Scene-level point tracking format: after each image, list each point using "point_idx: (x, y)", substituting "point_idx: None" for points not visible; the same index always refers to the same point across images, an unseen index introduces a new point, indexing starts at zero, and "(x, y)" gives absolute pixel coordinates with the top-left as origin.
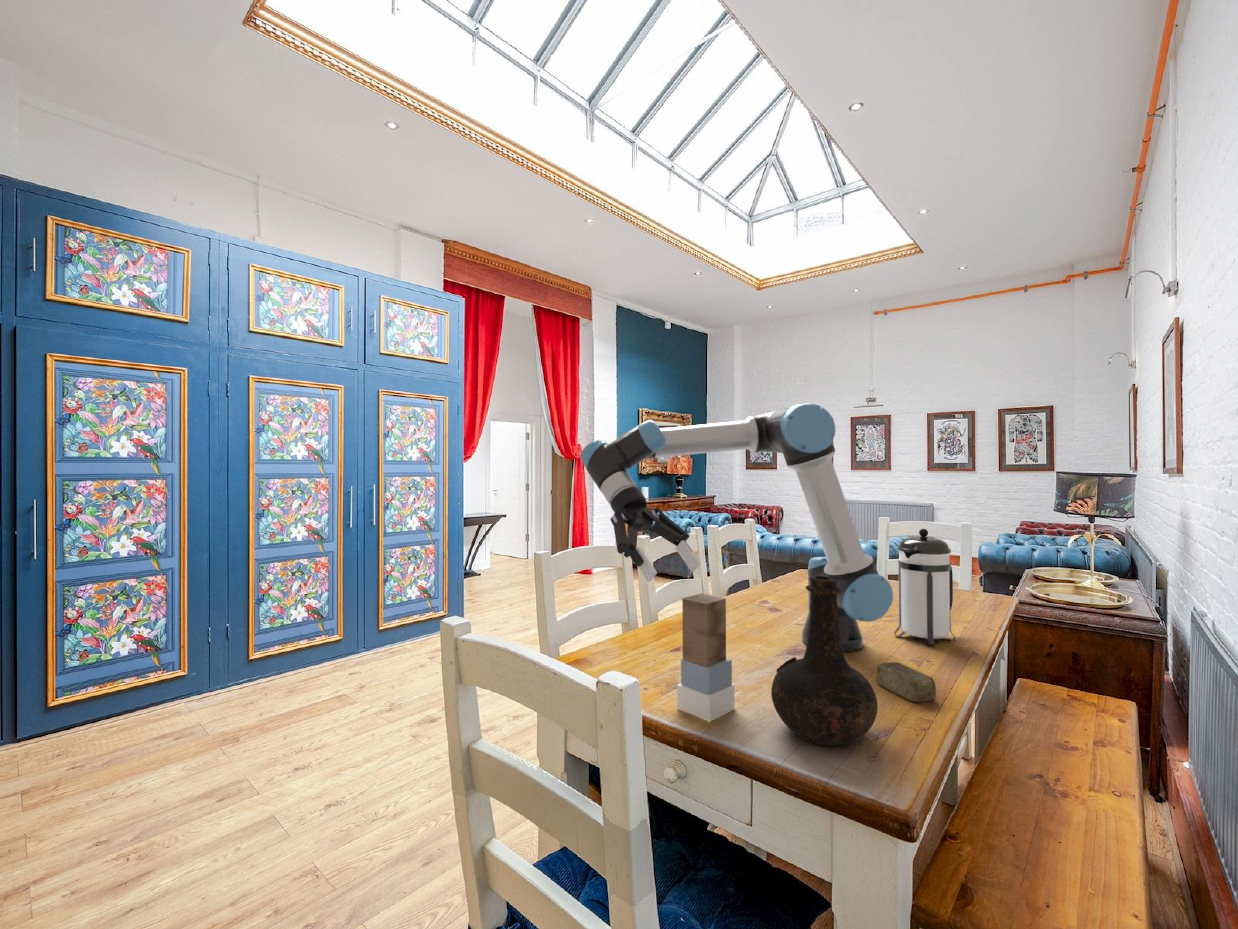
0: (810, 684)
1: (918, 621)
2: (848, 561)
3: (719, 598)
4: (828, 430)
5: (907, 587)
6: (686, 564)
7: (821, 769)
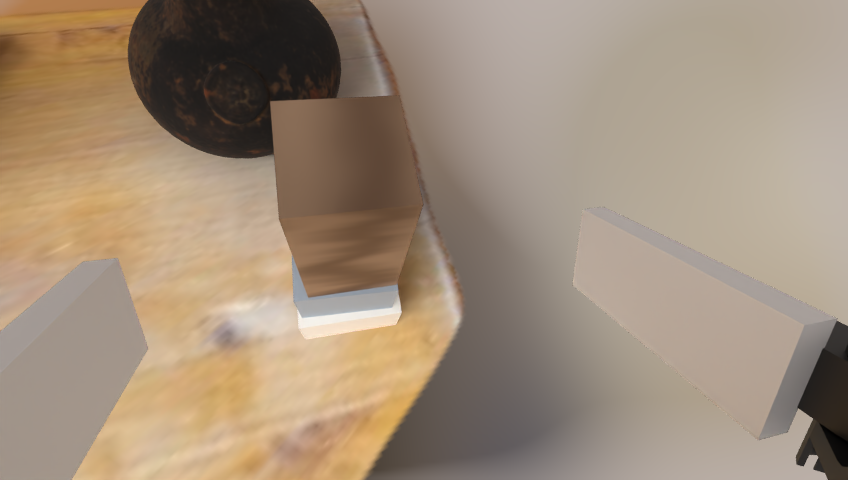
0: (310, 13)
1: None
2: None
3: (291, 115)
4: None
5: None
6: (116, 401)
7: (356, 70)
